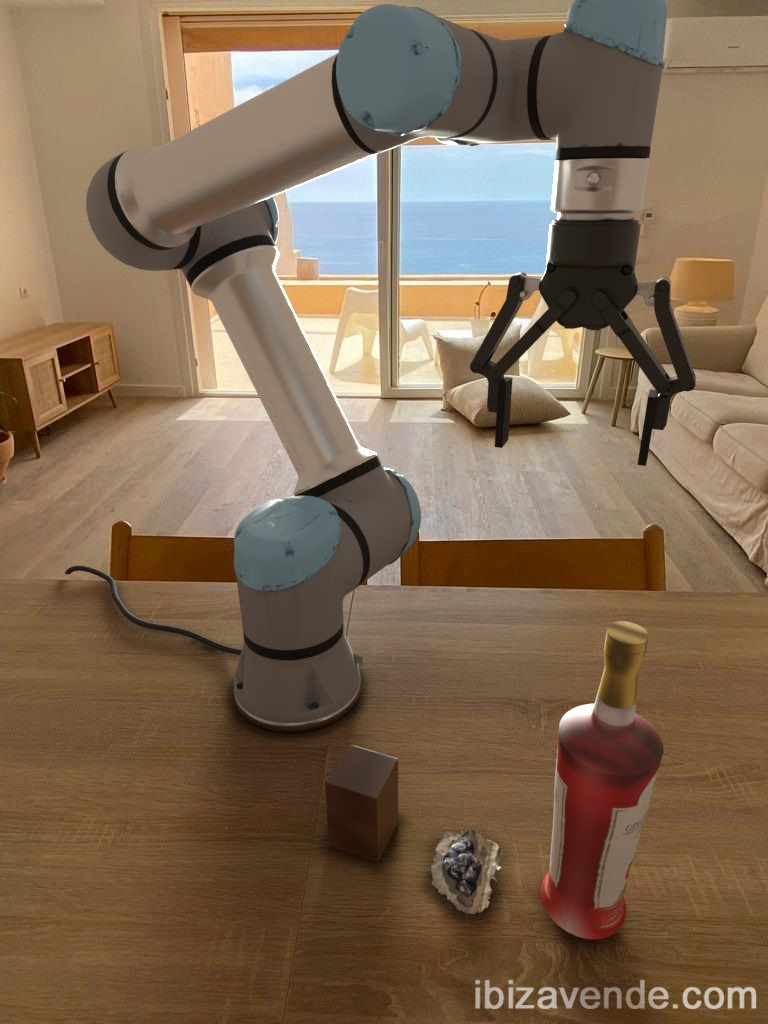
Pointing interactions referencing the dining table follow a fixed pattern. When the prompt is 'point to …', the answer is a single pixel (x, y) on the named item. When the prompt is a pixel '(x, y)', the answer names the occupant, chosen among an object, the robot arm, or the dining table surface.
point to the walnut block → (362, 802)
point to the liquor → (601, 794)
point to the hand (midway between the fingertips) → (569, 452)
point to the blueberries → (466, 869)
